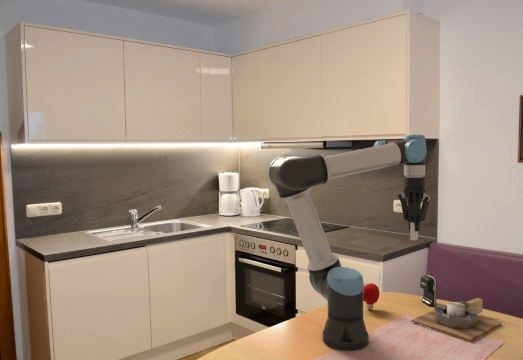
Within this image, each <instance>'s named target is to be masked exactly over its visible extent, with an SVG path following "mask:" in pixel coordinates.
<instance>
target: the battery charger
mask: <svg viewBox="0 0 523 360" xmlns="http://www.w3.org/2000/svg"><path fill="white" fill-rule="evenodd" d="M419 283H420V284H419V287H420V288H422V289H423V296H422V298H421V303H423V304H425V305H427V306H429V307H436V305H437V291H438V290H437V289H438V288H437V287H438V286H437V279H436V278H435V277H434V276H432V275H429V274H426V275H421V276H420V282H419Z"/></svg>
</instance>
